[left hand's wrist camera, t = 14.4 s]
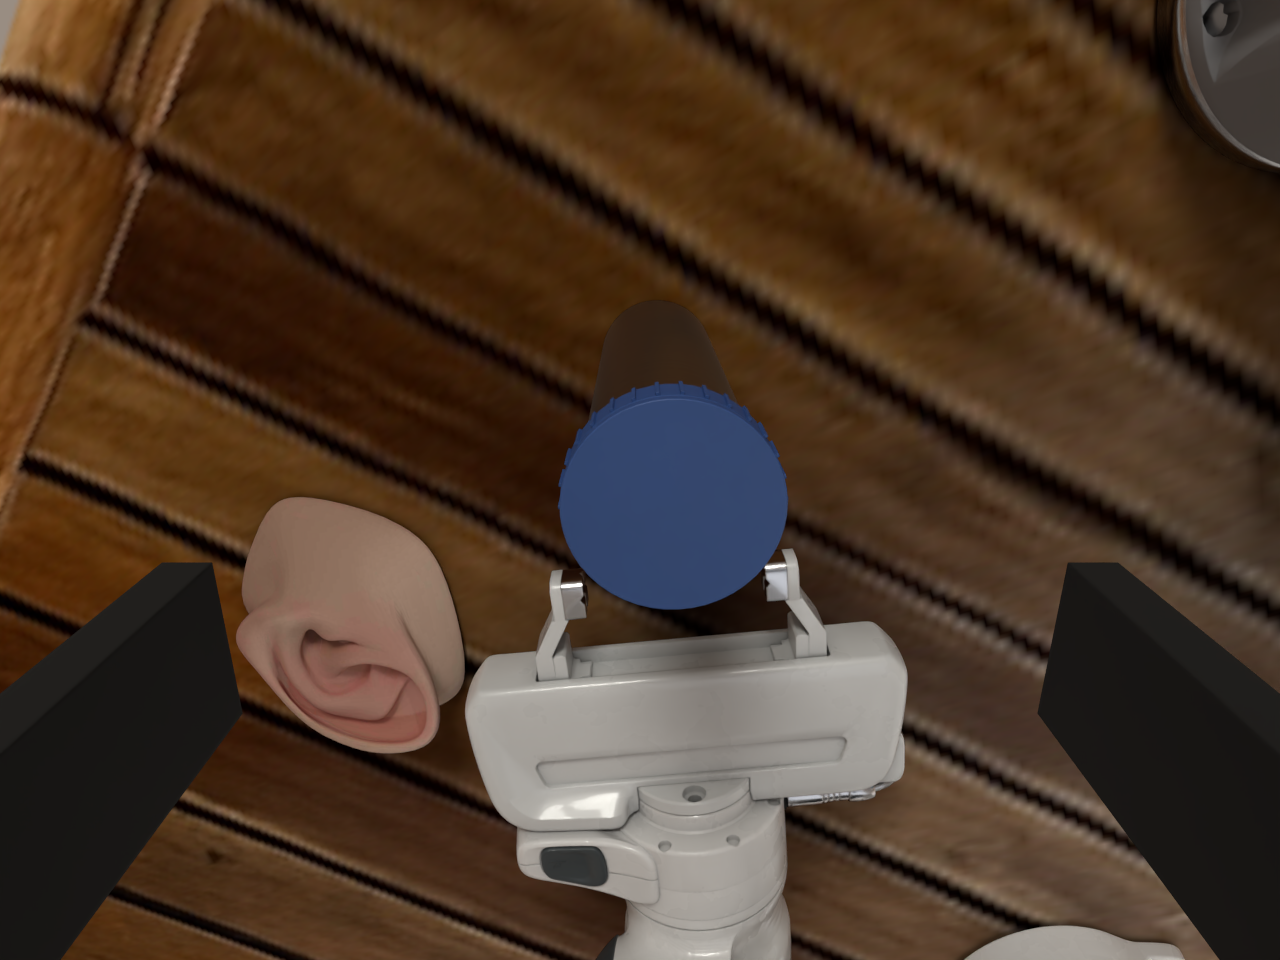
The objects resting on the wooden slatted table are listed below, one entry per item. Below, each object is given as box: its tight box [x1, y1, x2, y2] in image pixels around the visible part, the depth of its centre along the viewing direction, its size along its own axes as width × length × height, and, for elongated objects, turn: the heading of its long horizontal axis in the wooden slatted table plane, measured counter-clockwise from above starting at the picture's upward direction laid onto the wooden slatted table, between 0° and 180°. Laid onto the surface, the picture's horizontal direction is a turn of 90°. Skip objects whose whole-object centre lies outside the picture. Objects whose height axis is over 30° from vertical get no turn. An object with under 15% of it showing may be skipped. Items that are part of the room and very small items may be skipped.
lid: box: [558, 381, 788, 609], centre depth 22 cm, size 6×6×2 cm
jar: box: [588, 300, 738, 422], centre depth 30 cm, size 5×5×19 cm
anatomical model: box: [236, 497, 465, 753], centre depth 42 cm, size 13×4×12 cm
